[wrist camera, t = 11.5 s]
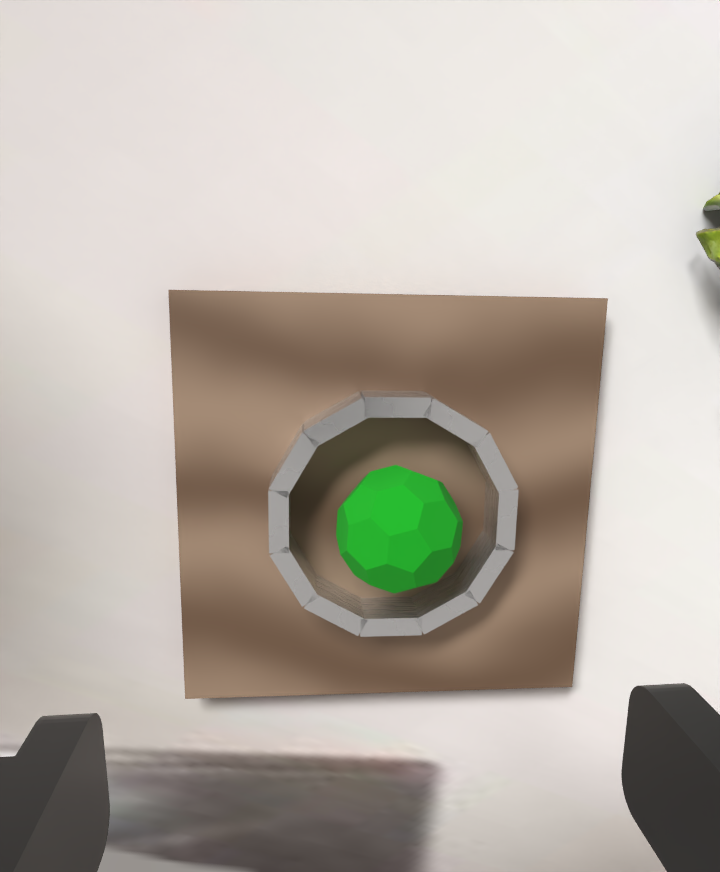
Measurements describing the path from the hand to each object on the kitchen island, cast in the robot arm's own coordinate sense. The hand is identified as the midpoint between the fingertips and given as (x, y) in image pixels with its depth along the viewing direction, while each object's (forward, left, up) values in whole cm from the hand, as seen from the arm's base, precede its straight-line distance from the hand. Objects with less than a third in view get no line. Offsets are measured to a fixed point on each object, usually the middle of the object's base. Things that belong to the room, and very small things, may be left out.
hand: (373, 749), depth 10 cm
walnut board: (+2, +3, -20) cm, 20 cm away
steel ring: (+2, +3, -18) cm, 18 cm away
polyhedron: (+2, +3, -18) cm, 18 cm away
